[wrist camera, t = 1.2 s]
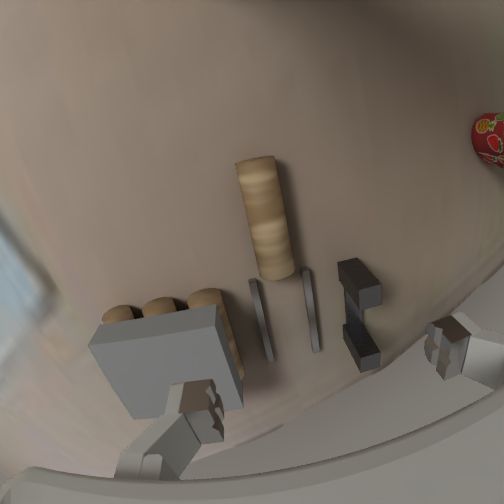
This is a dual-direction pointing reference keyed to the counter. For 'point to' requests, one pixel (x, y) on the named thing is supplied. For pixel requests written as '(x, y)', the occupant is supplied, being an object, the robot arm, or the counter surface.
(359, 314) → the posts
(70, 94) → the counter surface
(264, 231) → the roller
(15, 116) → the counter surface
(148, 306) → the roller bed
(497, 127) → the smoothie
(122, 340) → the slab
